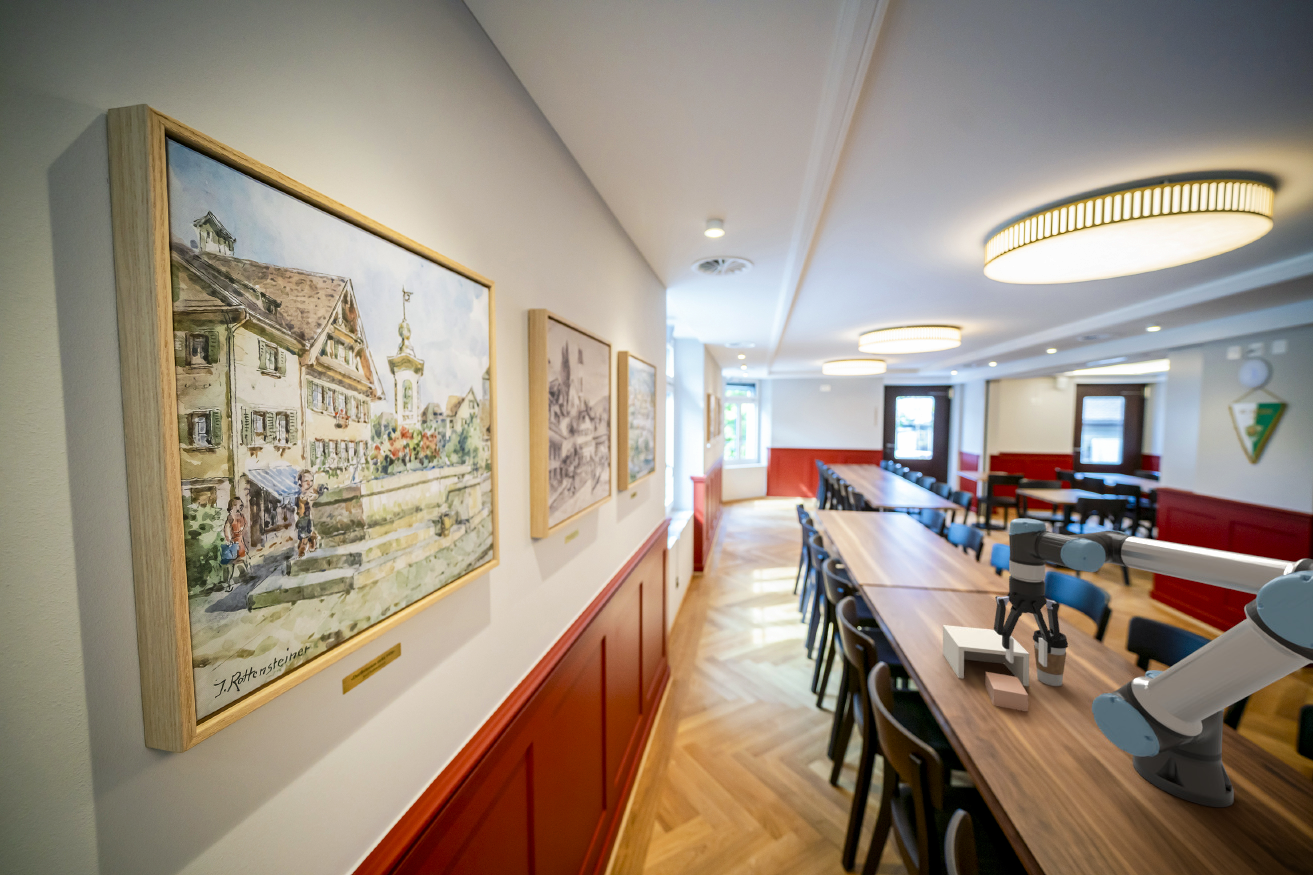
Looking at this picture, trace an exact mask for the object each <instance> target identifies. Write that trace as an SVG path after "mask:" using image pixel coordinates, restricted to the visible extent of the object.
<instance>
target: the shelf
mask: <svg viewBox="0 0 1313 875" xmlns="http://www.w3.org/2000/svg"><path fill="white" fill-rule="evenodd" d="M1011 637H1012V638H1013V639H1014V663H1010V662H1009V661H1008V660H1007V659H1006V649H1005V648H1004V647H1003V646H1002V635H998V634H997V633H996V632H995V631H994V629H990V628H989V629H988V628H980V627H979V628H978V627H968V626H967V627H966V626H957V625H947V624H946V625H945V624H942V655H943V656H944V658H945V659H946V661H947V663H948V664H949V666H950V667H951V669H952V670H953V672H954V674H955V675H956V676H957V679H965V675H964V674H965V673H964V672H965V660H968V661H978V662H987V663H995V664H1003V665H1005V667H1006V668H1008V670H1009V671H1010V672H1011V673H1012V675H1014V677H1018V679H1019V680H1020V682H1021V684H1022V686H1023V687H1029V686H1030V653H1029V652H1028V651H1027V650H1026V649H1025V648H1024V646H1022V645H1021V644H1020V642H1019V641H1017V639H1016V638H1014V637H1013V636H1012V635H1011Z"/></svg>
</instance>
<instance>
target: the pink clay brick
mask: <svg viewBox="0 0 1313 875" xmlns="http://www.w3.org/2000/svg"><path fill="white" fill-rule="evenodd" d="M984 676H985V677H984V678H985V685H984V686H985V690H986V692H987V694H988V696H989V698H990V700H991V703H992V704H993V706H996V707H1002V708H1006V709H1012V710H1016V709H1017V711H1021V710H1022V712H1026V711H1028V712H1029V694H1028V693H1027V691H1026V689H1025V686H1023V685H1022V684H1021V682H1020V680H1019V679H1018V677H1015V676H1013V675H1006V674H1000V673H995V672H990V671H989V672H988V671H985V675H984Z"/></svg>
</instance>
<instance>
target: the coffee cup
mask: <svg viewBox="0 0 1313 875" xmlns="http://www.w3.org/2000/svg"><path fill="white" fill-rule="evenodd" d="M1048 631H1049V633H1050V629H1048ZM1039 638H1043V637H1042V634H1041V632H1040V630H1039V629H1037V630H1034V632H1033V636H1032V640H1033V642H1034V645H1033V648H1034V658H1035V666H1036V677H1037V680H1038V681H1039V682H1041V683H1042V684H1045V685H1048V686H1053V687H1060V686H1062V685H1063V681H1064V680H1063V679H1064V672H1065V664H1066V659H1067V658H1066V657H1067V648H1068V647H1069V646H1068V645H1069V644H1068V640H1067V636H1066V635H1065V634H1064V633H1062V632H1060V638H1061V639H1060V640H1059V641H1058V640H1054V643H1052V644H1051V653H1047V667H1044V666H1043V665H1042V664H1041V663H1040V662H1039V661H1038V658H1039Z"/></svg>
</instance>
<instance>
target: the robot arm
mask: <svg viewBox="0 0 1313 875" xmlns="http://www.w3.org/2000/svg"><path fill="white" fill-rule="evenodd" d="M1008 537H1009V539H1008V541H1009V542H1008V543H1009V558H1008V559H1009V561H1008V562H1009V563H1008V564H1009V567H1008V568H1009V569H1008V572H1009V577H1008V590H1009V592H1008V593H1007V596H999V595H996V596H995V602H996V610H995V616H994V618H995V619H994V624H993V630H994V631H995V632H996V633H997V634H998V635H1002V646H1003V647H1004V648H1005V649H1006V659H1007V660H1008V661H1009V662H1010V663H1014V639H1015V638H1014V637H1013V636H1012V634H1013V632H1014V629H1015V628H1016V626H1017V624H1018V621H1019V619H1020V618H1021V617H1022V615H1023V614H1027V613H1029V614H1033V618H1034V620H1035V621H1036V626H1037V627H1038V630H1040V632H1041V634H1042V637H1043V638H1039V658H1038V661H1039V662H1040V663H1041V664H1042V665H1043V666H1044V667H1047V653H1051V644H1052V643H1054V640H1058V641H1059V640H1060V639H1061V638H1060V633H1061V630H1060V622H1059V615H1058V611H1059V609H1060V604H1059V603H1058V602H1056V601H1055V600H1053V599H1047V598H1046V597H1045V596H1046V582H1045V579H1046V562H1048V563H1052V564H1055V565H1059V566H1063V567H1066V568H1069V569H1072V570H1075V571H1082V572H1087V573H1095V572H1097V571H1099V569H1100V568H1102V567H1104V564H1113V565H1117V566H1120V567H1126V568H1132V569H1136V570H1141V571H1146V572H1151V573H1155V574H1161V575H1164V576H1170V577H1173V578H1174V577H1175V578H1179V579H1183V580H1188V581H1193V582H1198V583H1203V584H1206V585H1210V586H1211V585H1212V586H1216V587H1221V588H1225V589H1229V590H1230V589H1231V590H1235V591H1239V592H1244V593H1248V594H1253V595H1256V598H1255V599H1253V600H1251V601H1250V602H1249V603H1247V604H1245V606H1244V608H1243V609H1244V613H1245V616H1246V619H1243V621H1242V620H1241V622H1239V623H1238V624H1236V625H1235V626H1233V627H1231V628H1230V629H1228V630H1227V631H1225V632H1223V633H1222V634H1221V635H1219V636H1218V637H1215V638H1214V639H1212V640H1211V641H1209V642H1208V643H1206V644H1205V645H1203V646H1202V647H1199V648H1198V649H1197V650H1195V651H1194V652H1192V653H1191V654H1189V655H1187V656H1185V657H1184V658H1182V659H1181V660H1180V661H1178V662H1177V663H1175V664H1173V665H1172V666H1170V667H1169V668H1167V669H1166V670H1164V671H1163V670H1153V669H1151V670H1147V671H1146V672H1145V674H1144V676H1143V675H1142V676H1137V677H1135V678H1133V679H1132V680H1129V682H1127V683H1126V684H1124V685H1123V686H1121V687H1119V688H1118V689H1116V690H1114V691H1112V692H1109V693H1108V692H1105V693H1104V692H1103V693H1101V694H1100V695H1098V696H1096V697H1095V698H1094V699H1093V700H1092V704H1091V712H1092V714H1093V719H1094V722H1095V723H1096V725H1097V727H1098V729H1099V730H1100V731H1101V732H1102V734H1103V735H1104V736H1105V738H1106V739H1107V740H1109V741H1110V743H1112V744H1113V745H1115V746H1116V747H1117V748H1118V749H1120V750H1121V751H1123V752H1126V753H1127V754H1130V755H1132V765H1133V768H1134V769H1135V771H1136V772H1137V773H1138V774H1139V775H1140V776H1141V777H1142V778H1143V779H1145V780H1146V781H1148V782H1149V783H1150V784H1152V785H1153V786H1155V787H1157V788H1158V789H1160V790H1163V791H1164V792H1166V793H1168V794H1169V795H1170V794H1171V795H1173V796H1175V797H1177V798H1180V799H1182V800H1185V801H1188V802H1191V803H1195V804H1197V805H1202V806H1205V807H1210V808H1211V807H1212V808H1227V807H1229V806H1233V803H1234V801H1235V800H1234V798H1235V797H1234V796H1235V795H1234V794H1235V792H1234V787H1233V785H1232V782H1231V780H1230V777H1229V775H1228V773H1227V770H1226V767H1225V765H1224V763H1223V761H1222V760H1223V757H1222V754H1223V752H1222V750H1223V749H1222V748H1223V730H1224V729H1223V727H1224V726H1223V724H1224V712H1225V709H1226V708H1227V707H1229V706H1232V705H1234V704H1235V703H1237V702H1239V701H1241V700H1243V699H1245V698H1246V697H1248V696H1249V697H1250V696H1251V695H1252V694H1254V693H1256V692H1258V691H1260V690H1262V689H1264V688H1266V687H1268V686H1269V685H1271V684H1273V683H1275V682H1278V681H1279V680H1281V679H1282V678H1285V677H1286V676H1288V675H1290V674H1292V673H1294V672H1296V671H1298V670H1300V669H1302V668H1303V667H1306V666H1307V665H1309V664H1313V559H1311V558H1301V559H1299V560H1297V561H1289V560H1282V559H1278V558H1271V557H1266V556H1265V557H1264V556H1257V555H1253V554H1246V553H1239V552H1234V551H1227V550H1220V549H1214V548H1208V547H1203V546H1196V545H1190V544H1189V545H1188V544H1182V543H1177V542H1170V541H1165V540H1157V539H1153V538H1152V539H1151V538H1145V537H1139V536H1134V535H1130V534H1128V533H1127V532H1125V531H1121V530H1120V531H1119V530H1101V531H1096V532H1089V533H1081V534H1079V533H1077V534H1070V535H1069V534H1061V533H1055V532H1052V531H1049V530H1047V526H1046V523H1045V522H1044V521H1042V520H1038V519H1034V518H1033V519H1032V518H1014V519H1011V521H1010V524H1009V532H1008ZM1008 602H1009V603H1010V604H1011V607H1010V611H1009V614H1008V616H1007V618H1006V611H1007V606H1008ZM1043 607H1046V612H1047V617H1048V618H1047V620H1048V626H1047V624H1046V621H1045V619H1044V615H1043V613H1042V608H1043ZM1005 618H1006V621H1005ZM1048 630H1050V633H1049V631H1048ZM1011 636H1012V637H1013V638H1014V639H1013V638H1012V637H1011Z"/></svg>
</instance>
